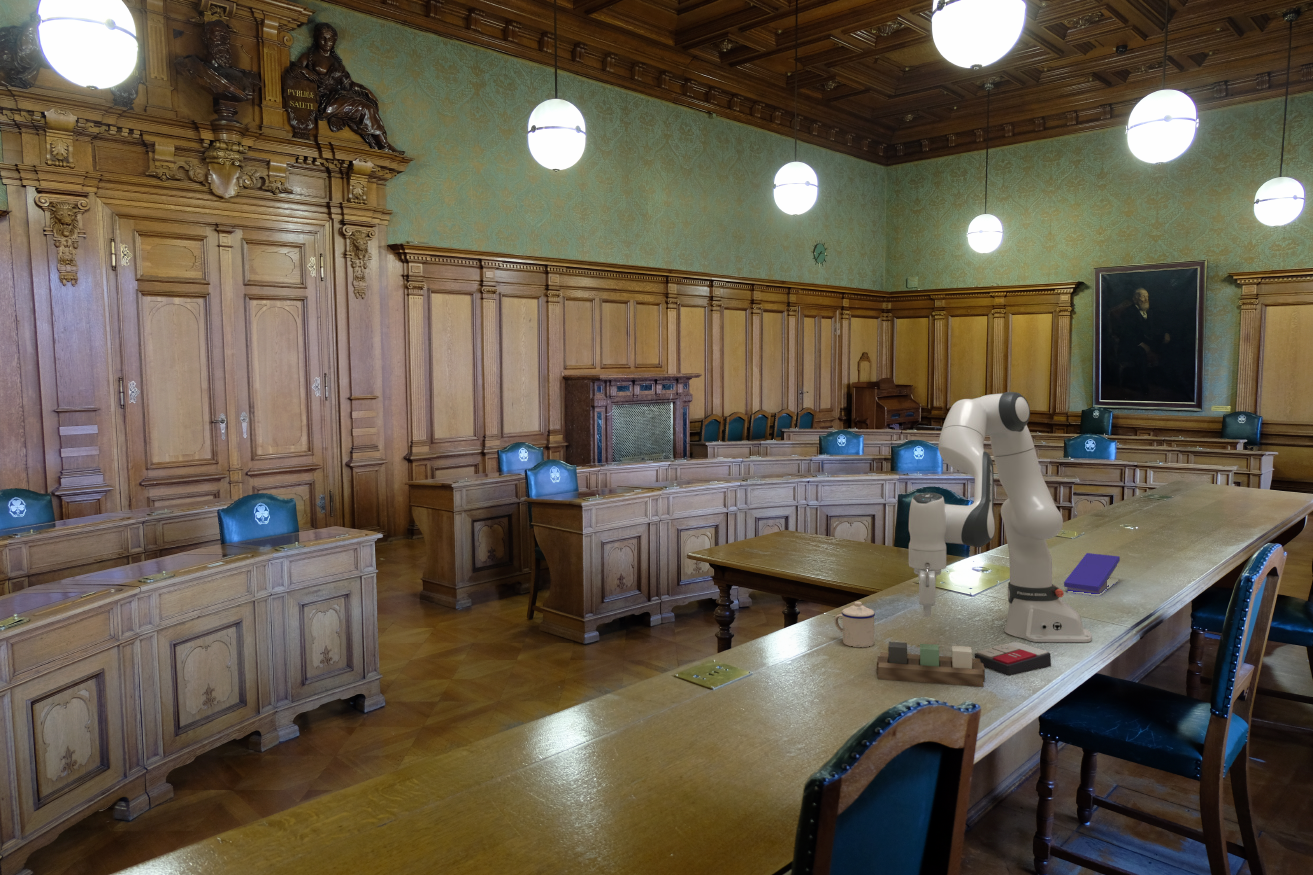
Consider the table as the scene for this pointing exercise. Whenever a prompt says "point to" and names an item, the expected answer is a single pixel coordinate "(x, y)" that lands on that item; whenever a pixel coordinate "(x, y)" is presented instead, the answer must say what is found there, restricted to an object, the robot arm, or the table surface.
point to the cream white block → (961, 657)
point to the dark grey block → (897, 652)
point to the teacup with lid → (857, 625)
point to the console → (931, 671)
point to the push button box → (1014, 658)
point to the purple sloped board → (1092, 573)
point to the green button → (929, 655)
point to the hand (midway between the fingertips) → (927, 615)
